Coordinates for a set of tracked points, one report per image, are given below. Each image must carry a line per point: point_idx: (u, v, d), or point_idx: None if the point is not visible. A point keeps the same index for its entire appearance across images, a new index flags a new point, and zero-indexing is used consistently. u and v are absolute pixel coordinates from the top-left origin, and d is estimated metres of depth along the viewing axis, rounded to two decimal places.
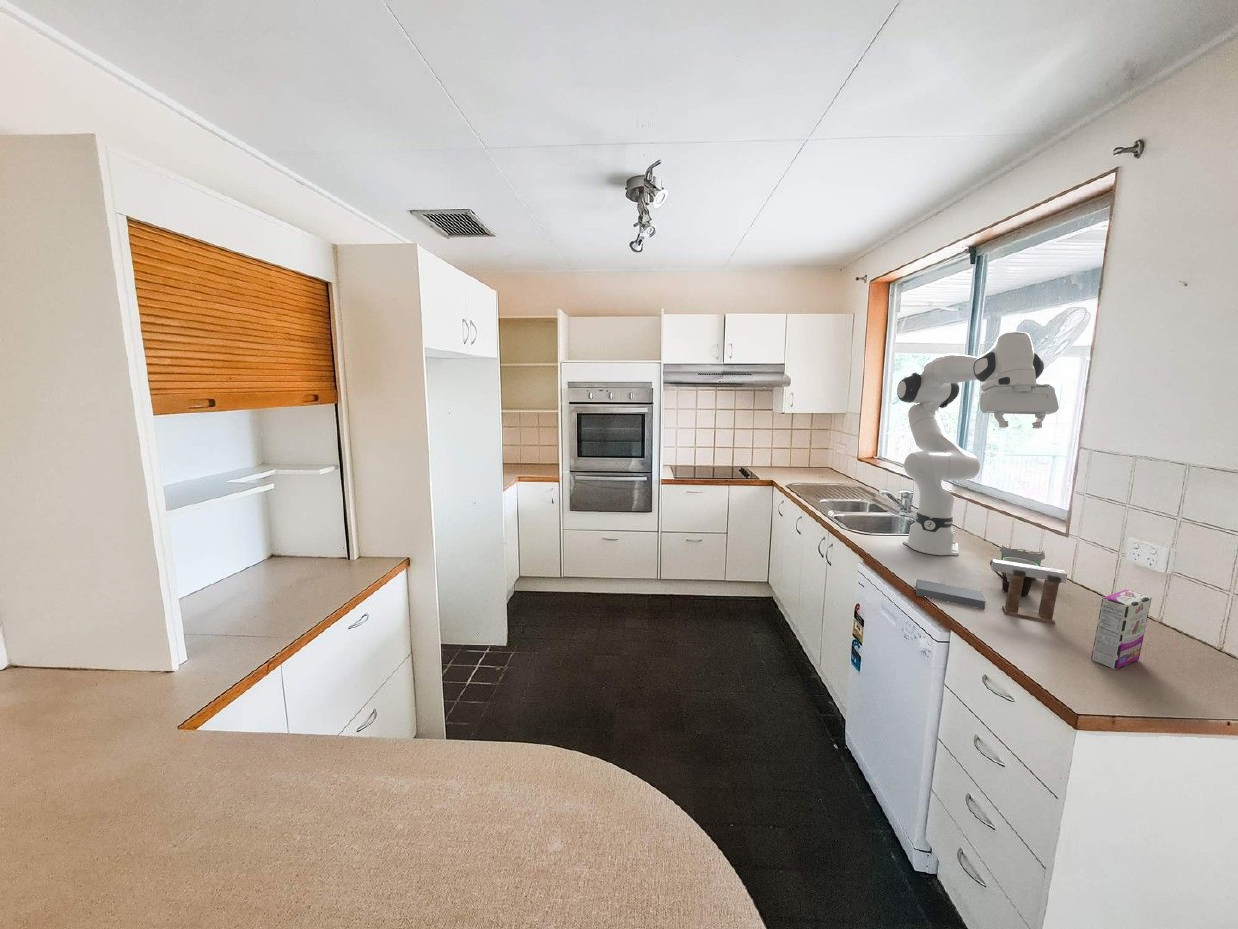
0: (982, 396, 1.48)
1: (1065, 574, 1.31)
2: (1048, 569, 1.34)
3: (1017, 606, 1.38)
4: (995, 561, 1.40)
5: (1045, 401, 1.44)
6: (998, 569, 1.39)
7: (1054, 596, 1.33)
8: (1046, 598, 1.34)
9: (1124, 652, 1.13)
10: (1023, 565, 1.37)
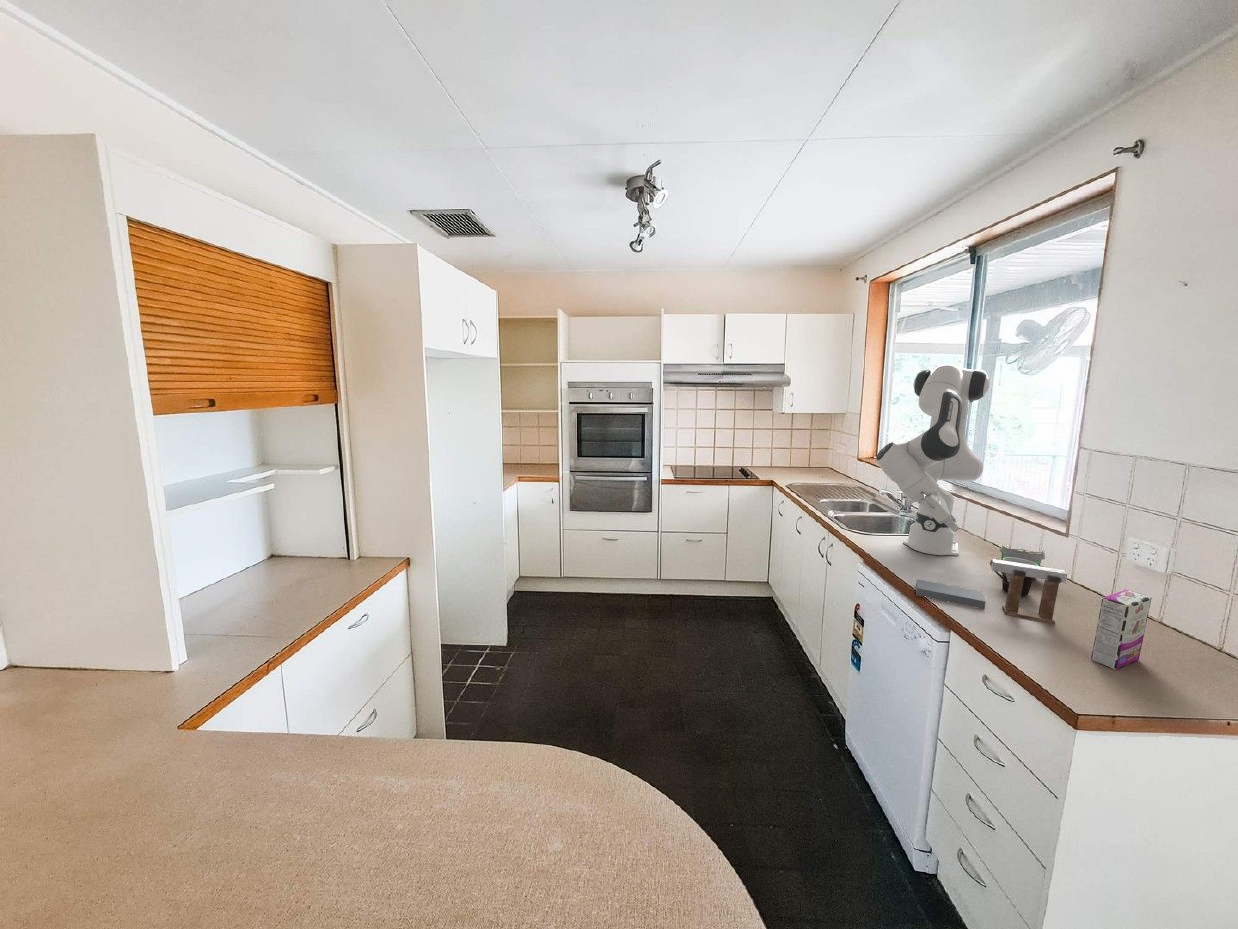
0: None
1: (1065, 574, 1.31)
2: (1048, 569, 1.34)
3: (1017, 606, 1.38)
4: (995, 561, 1.40)
5: None
6: (998, 569, 1.39)
7: (1054, 596, 1.33)
8: (1046, 598, 1.34)
9: (1124, 652, 1.13)
10: (1023, 565, 1.37)
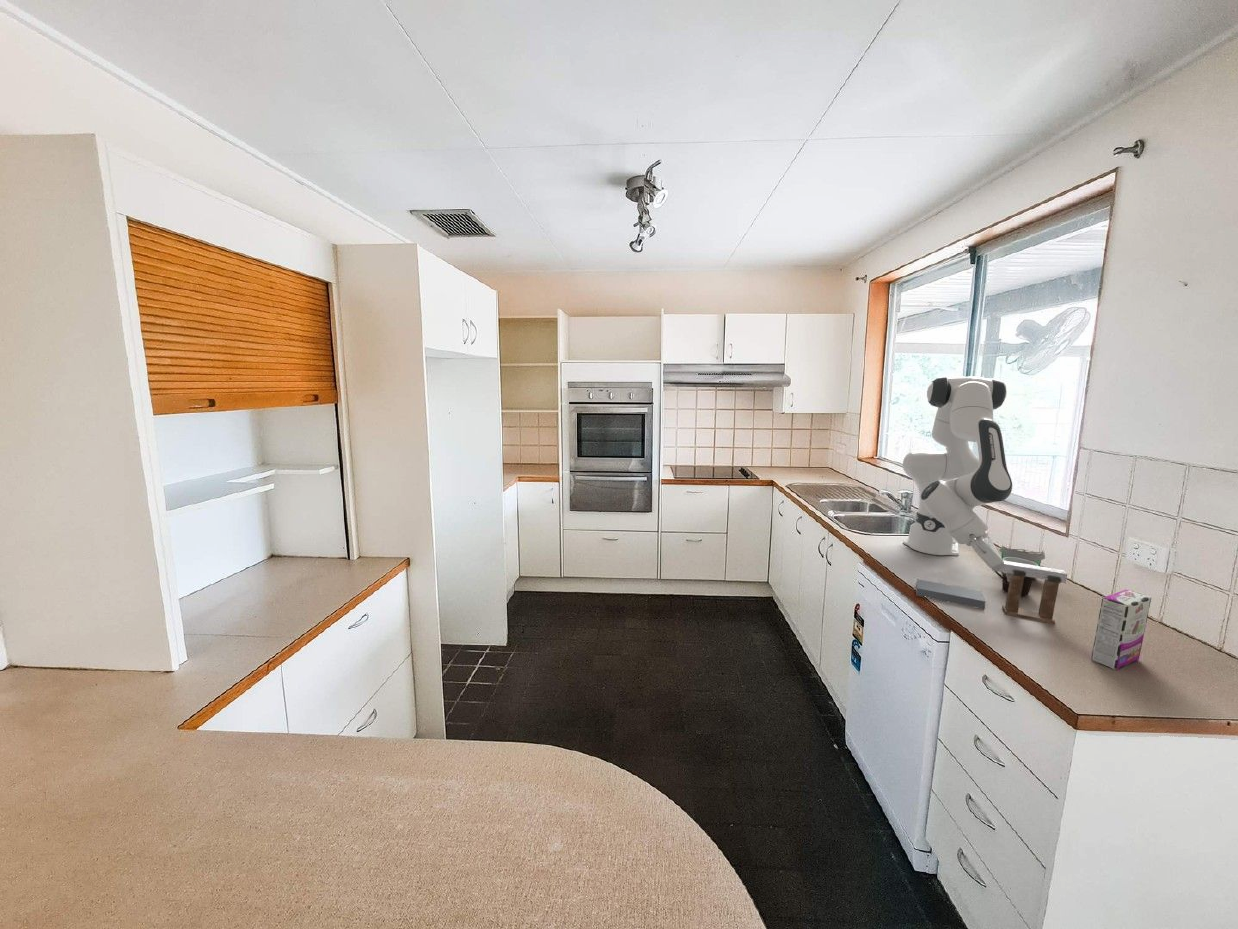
0: None
1: (1065, 574, 1.31)
2: (1048, 569, 1.34)
3: (1017, 606, 1.38)
4: None
5: None
6: (998, 569, 1.39)
7: (1054, 596, 1.33)
8: (1046, 598, 1.34)
9: (1124, 652, 1.13)
10: (1023, 565, 1.37)
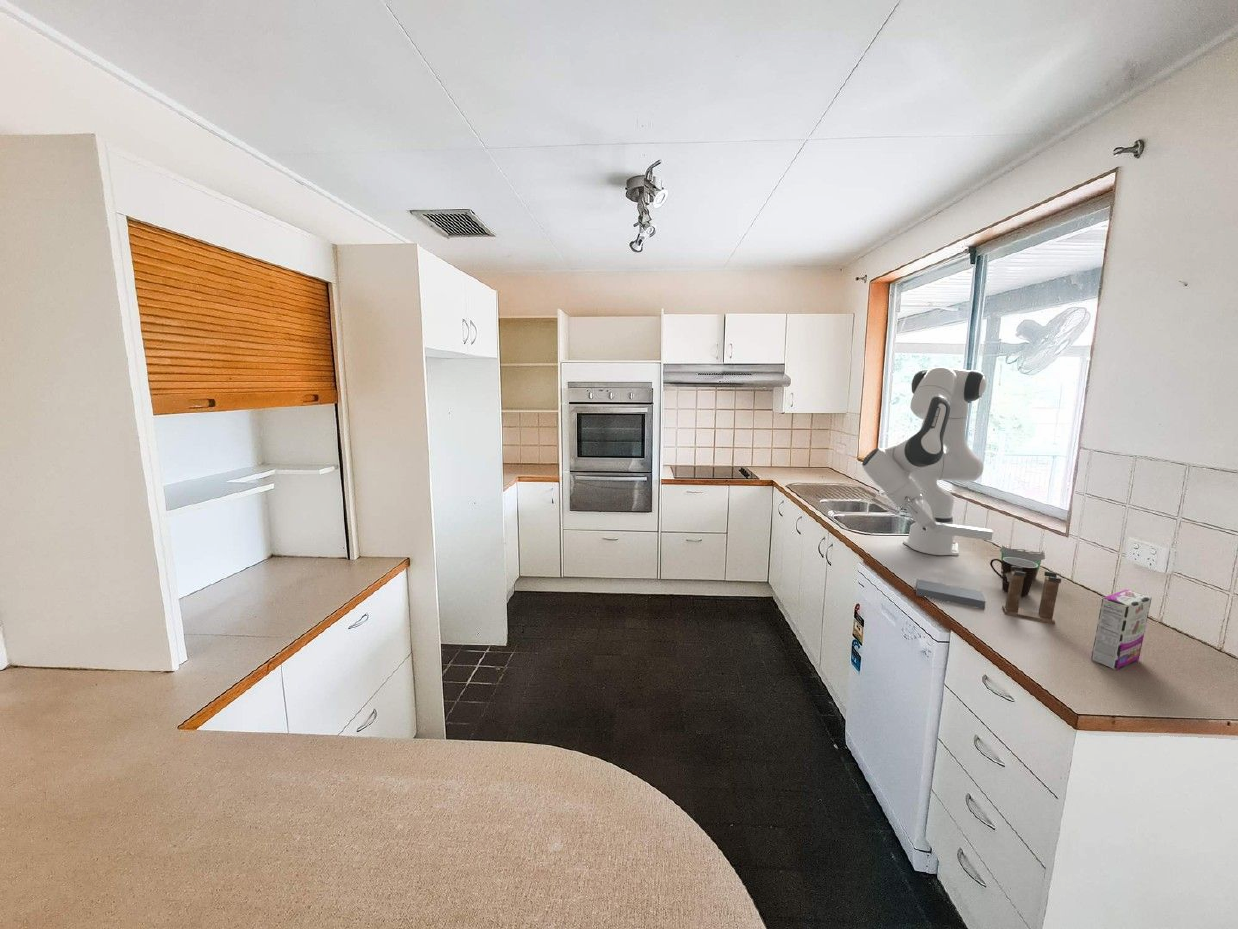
0: None
1: (991, 532, 1.40)
2: (976, 528, 1.43)
3: (1017, 606, 1.38)
4: None
5: None
6: (931, 529, 1.48)
7: (1054, 596, 1.33)
8: (1046, 598, 1.34)
9: (1124, 652, 1.13)
10: (954, 525, 1.46)
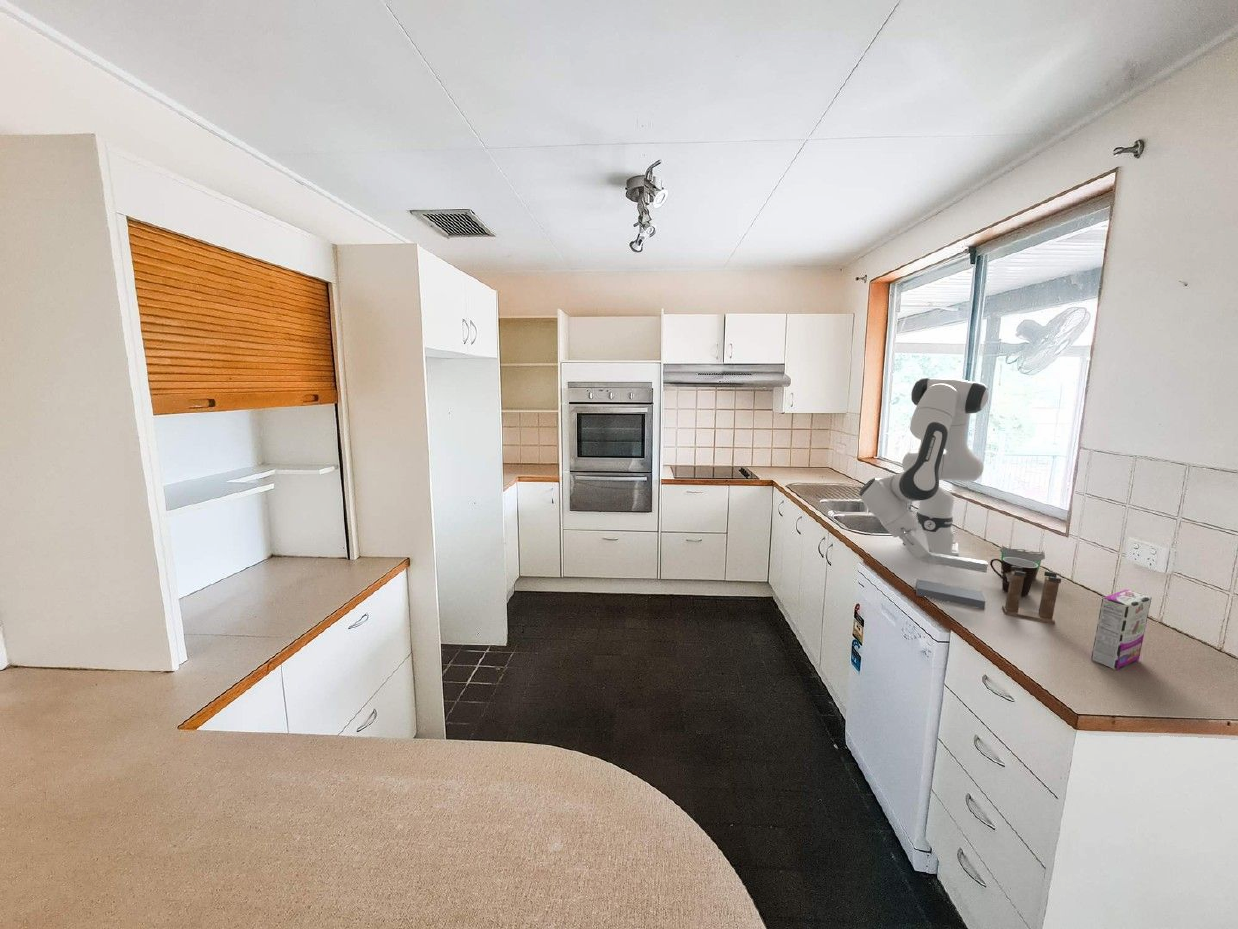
0: None
1: (986, 564, 1.42)
2: (971, 560, 1.45)
3: (1017, 606, 1.38)
4: None
5: None
6: (927, 560, 1.49)
7: (1054, 596, 1.33)
8: (1046, 598, 1.34)
9: (1124, 652, 1.13)
10: (950, 556, 1.47)
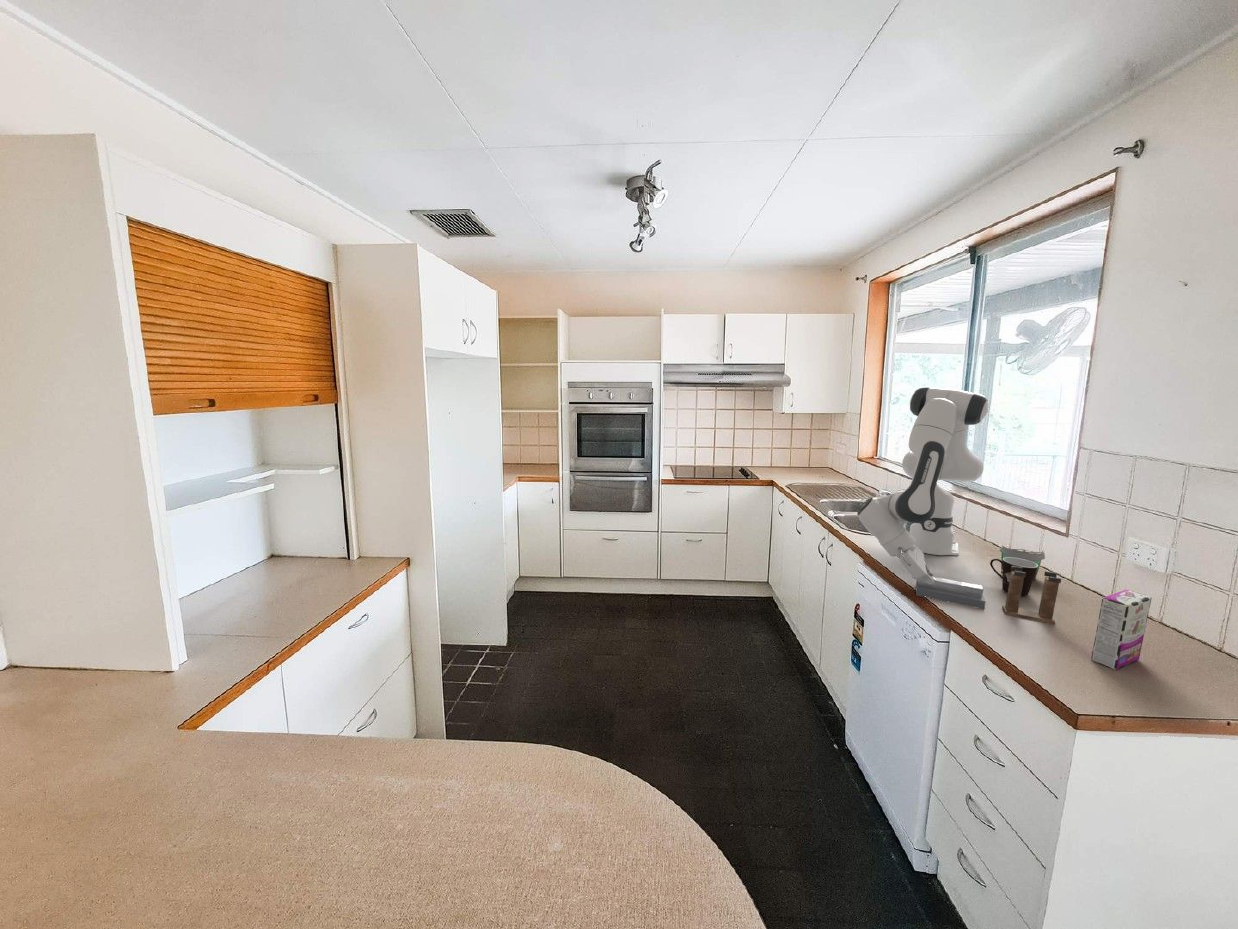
0: None
1: (981, 589, 1.44)
2: (967, 584, 1.46)
3: (1017, 606, 1.38)
4: None
5: None
6: (924, 584, 1.51)
7: (1054, 596, 1.33)
8: (1046, 598, 1.34)
9: (1124, 652, 1.13)
10: (946, 580, 1.49)
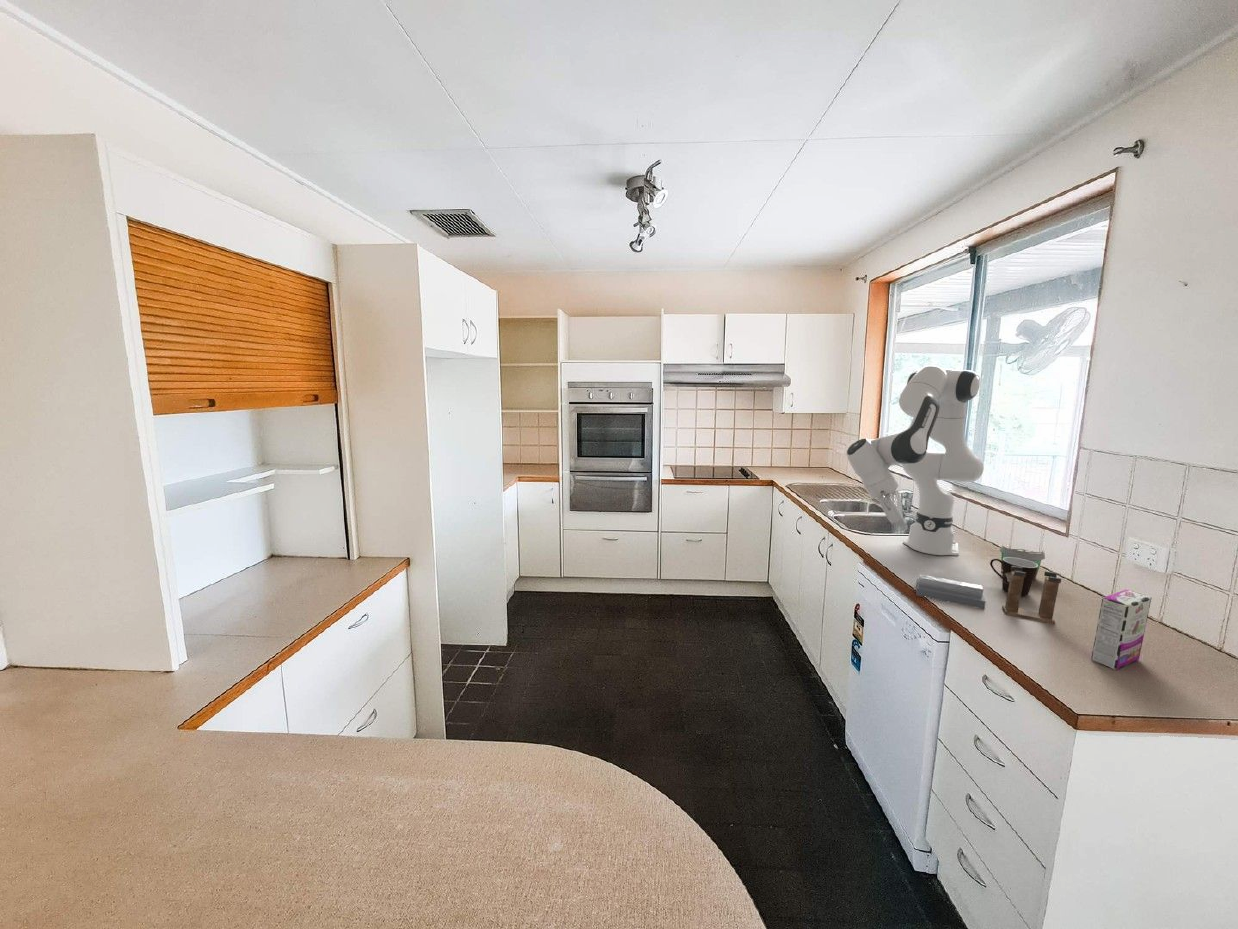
0: None
1: (981, 589, 1.44)
2: (967, 584, 1.46)
3: (1017, 606, 1.38)
4: (921, 577, 1.52)
5: None
6: (924, 584, 1.51)
7: (1054, 596, 1.33)
8: (1046, 598, 1.34)
9: (1124, 652, 1.13)
10: (946, 580, 1.49)
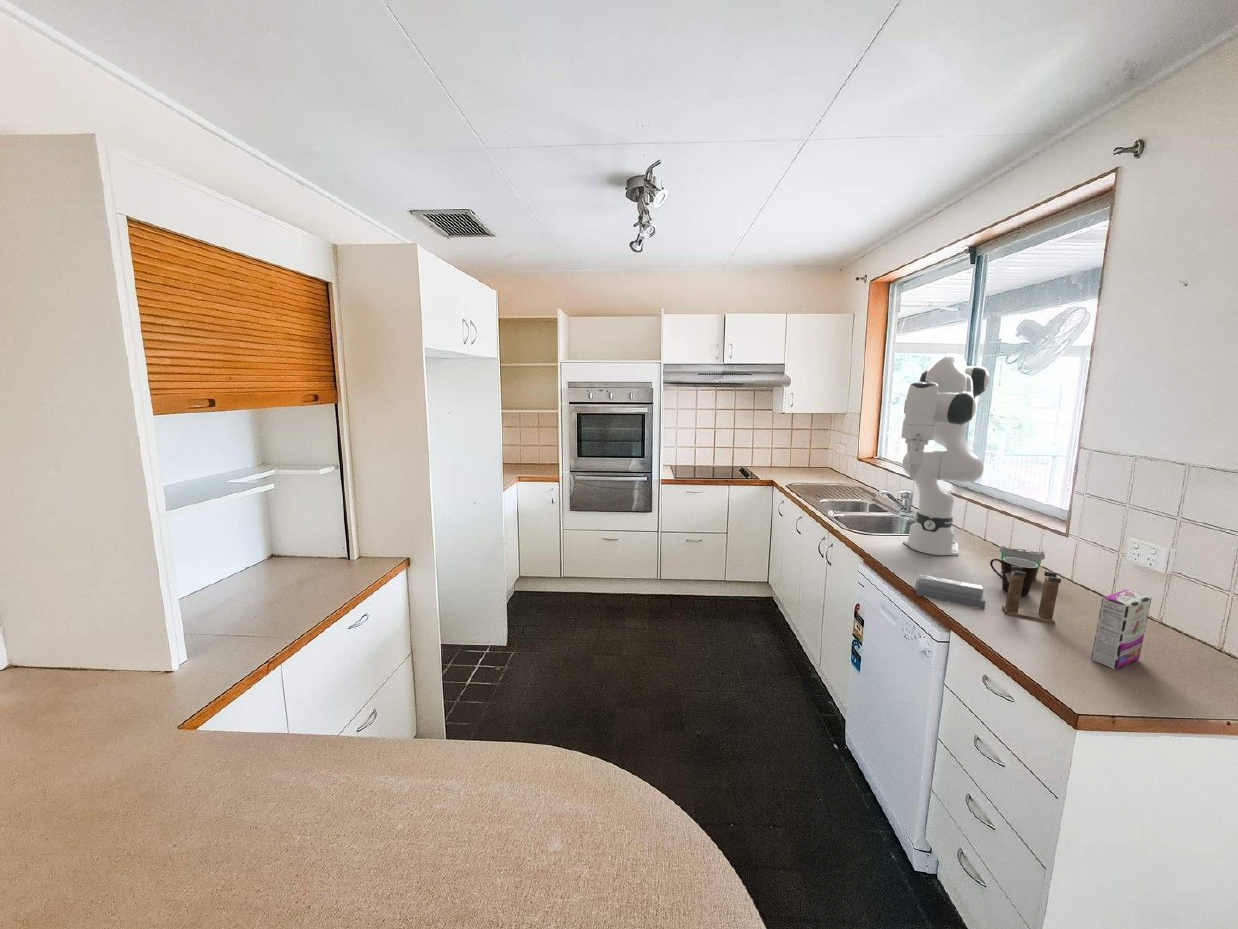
0: None
1: (981, 589, 1.44)
2: (967, 584, 1.46)
3: (1017, 606, 1.38)
4: (921, 577, 1.52)
5: None
6: (924, 584, 1.51)
7: (1054, 596, 1.33)
8: (1046, 598, 1.34)
9: (1124, 652, 1.13)
10: (946, 580, 1.49)
